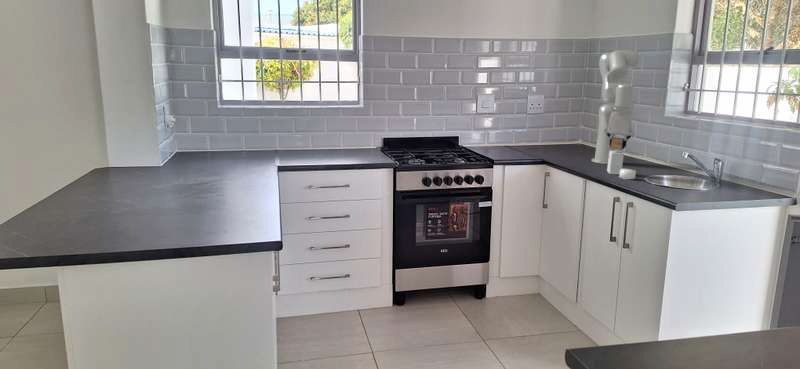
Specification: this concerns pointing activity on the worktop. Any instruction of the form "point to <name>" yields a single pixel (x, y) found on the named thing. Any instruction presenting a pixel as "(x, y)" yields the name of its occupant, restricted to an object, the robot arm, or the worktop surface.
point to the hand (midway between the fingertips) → (617, 147)
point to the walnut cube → (617, 143)
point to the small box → (615, 162)
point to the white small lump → (627, 174)
